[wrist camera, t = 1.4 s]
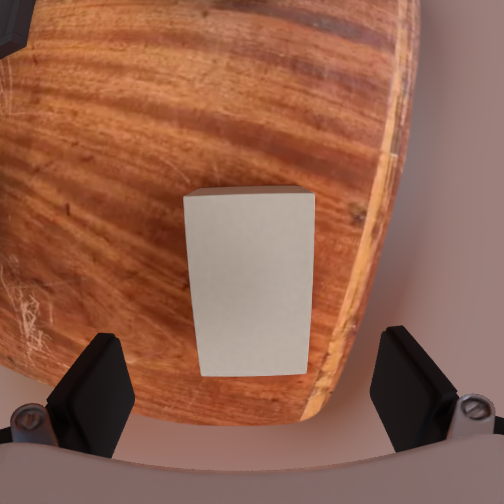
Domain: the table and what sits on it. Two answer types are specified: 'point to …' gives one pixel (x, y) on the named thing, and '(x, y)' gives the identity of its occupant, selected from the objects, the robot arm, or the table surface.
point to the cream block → (251, 278)
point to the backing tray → (14, 24)
